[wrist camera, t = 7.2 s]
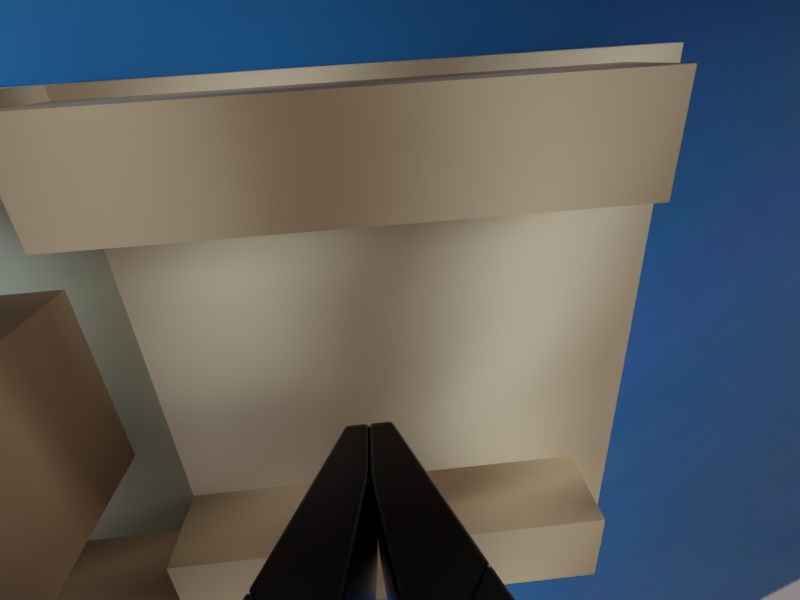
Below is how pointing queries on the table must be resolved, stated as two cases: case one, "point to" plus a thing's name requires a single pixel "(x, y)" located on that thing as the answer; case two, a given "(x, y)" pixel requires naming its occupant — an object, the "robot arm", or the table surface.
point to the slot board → (346, 289)
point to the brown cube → (51, 444)
